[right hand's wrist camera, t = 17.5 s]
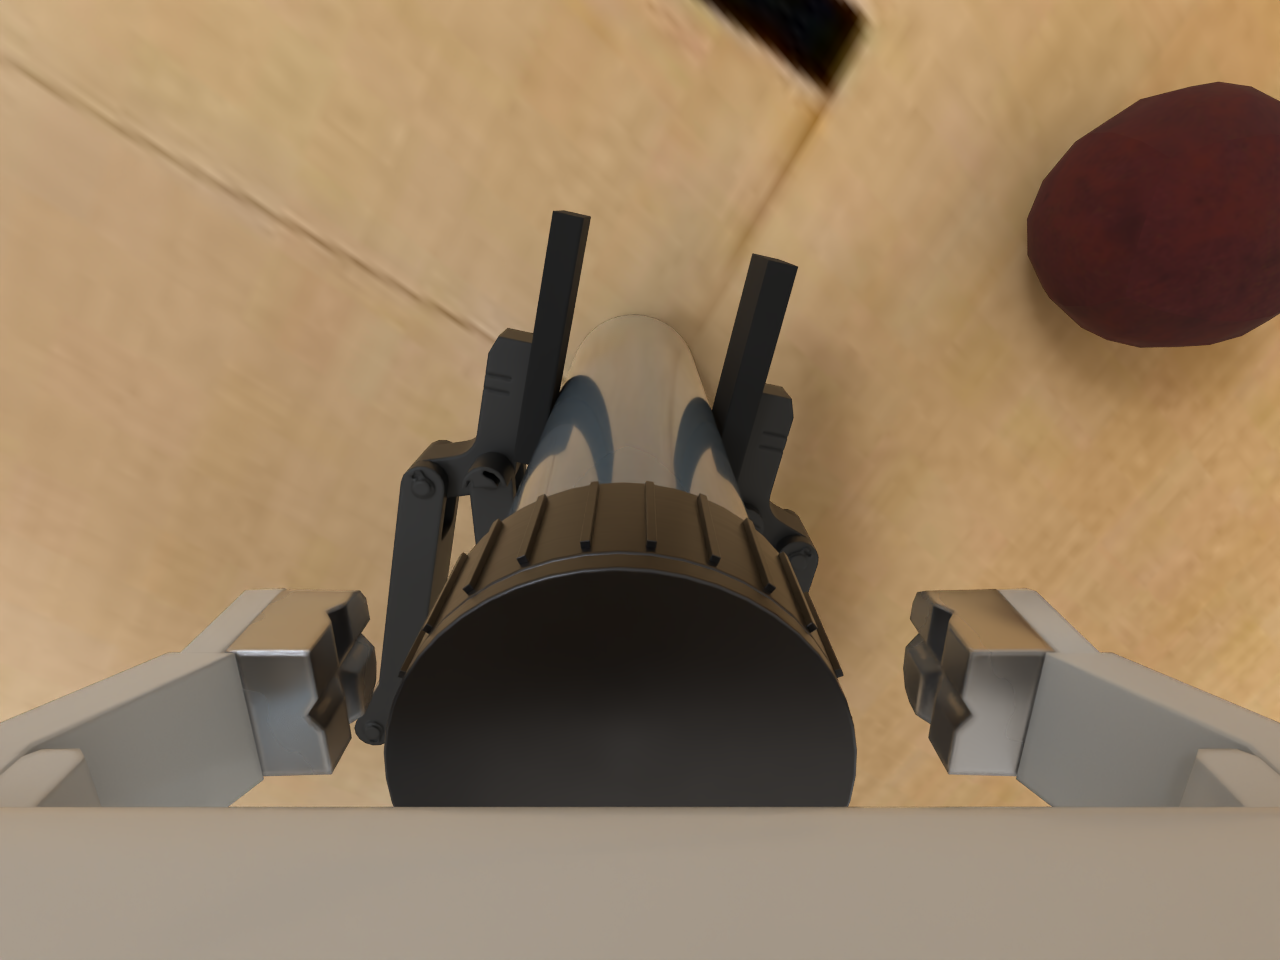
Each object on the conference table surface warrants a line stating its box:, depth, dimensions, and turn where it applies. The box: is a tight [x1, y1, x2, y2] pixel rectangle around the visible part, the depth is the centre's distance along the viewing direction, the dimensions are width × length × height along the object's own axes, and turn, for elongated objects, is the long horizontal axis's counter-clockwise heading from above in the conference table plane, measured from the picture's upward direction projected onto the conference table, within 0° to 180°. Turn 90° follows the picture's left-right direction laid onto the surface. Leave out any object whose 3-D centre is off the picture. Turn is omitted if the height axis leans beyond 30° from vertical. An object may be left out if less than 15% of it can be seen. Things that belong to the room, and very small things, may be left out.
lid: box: [384, 481, 857, 807], centre depth 9 cm, size 5×5×2 cm
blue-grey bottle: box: [505, 315, 749, 520], centre depth 18 cm, size 5×5×20 cm
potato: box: [1027, 82, 1280, 348], centre depth 22 cm, size 7×8×7 cm
